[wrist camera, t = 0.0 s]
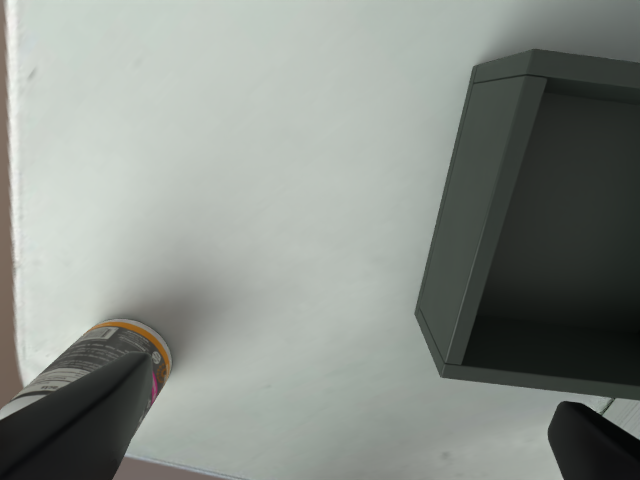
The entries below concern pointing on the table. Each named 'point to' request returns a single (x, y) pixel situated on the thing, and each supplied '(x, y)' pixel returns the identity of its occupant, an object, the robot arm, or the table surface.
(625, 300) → the bin
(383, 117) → the table surface
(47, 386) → the pill bottle
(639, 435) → the ink box
